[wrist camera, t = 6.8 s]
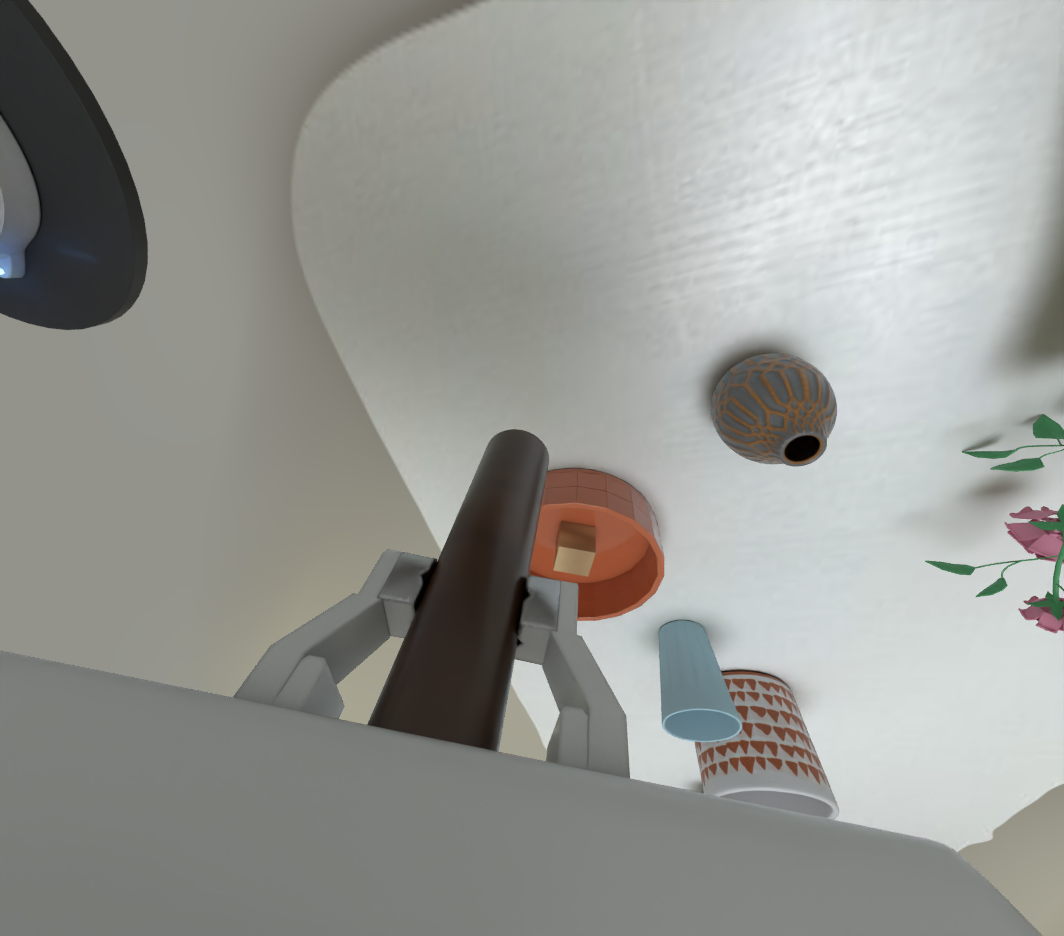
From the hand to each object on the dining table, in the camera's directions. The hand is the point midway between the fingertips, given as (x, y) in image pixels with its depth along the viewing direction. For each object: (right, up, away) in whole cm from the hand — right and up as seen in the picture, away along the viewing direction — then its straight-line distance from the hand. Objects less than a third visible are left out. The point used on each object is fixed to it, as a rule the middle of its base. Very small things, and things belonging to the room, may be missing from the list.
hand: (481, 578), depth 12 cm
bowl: (+6, -3, +28) cm, 29 cm away
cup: (+20, -17, +36) cm, 45 cm away
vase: (+18, +10, +17) cm, 27 cm away
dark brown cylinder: (+1, +4, +5) cm, 7 cm away
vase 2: (+31, -29, +43) cm, 60 cm away
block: (+6, -4, +28) cm, 29 cm away
